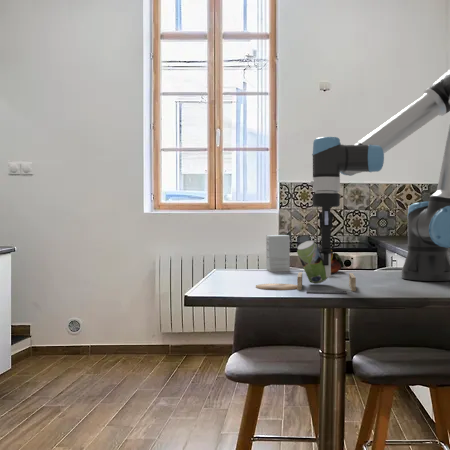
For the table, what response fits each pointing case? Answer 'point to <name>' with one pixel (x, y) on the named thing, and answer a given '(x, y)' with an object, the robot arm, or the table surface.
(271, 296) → the table surface
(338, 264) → the dark red rounded pieces
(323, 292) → the pad
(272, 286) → the coaster
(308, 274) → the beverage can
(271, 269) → the supplement box
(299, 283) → the channel
